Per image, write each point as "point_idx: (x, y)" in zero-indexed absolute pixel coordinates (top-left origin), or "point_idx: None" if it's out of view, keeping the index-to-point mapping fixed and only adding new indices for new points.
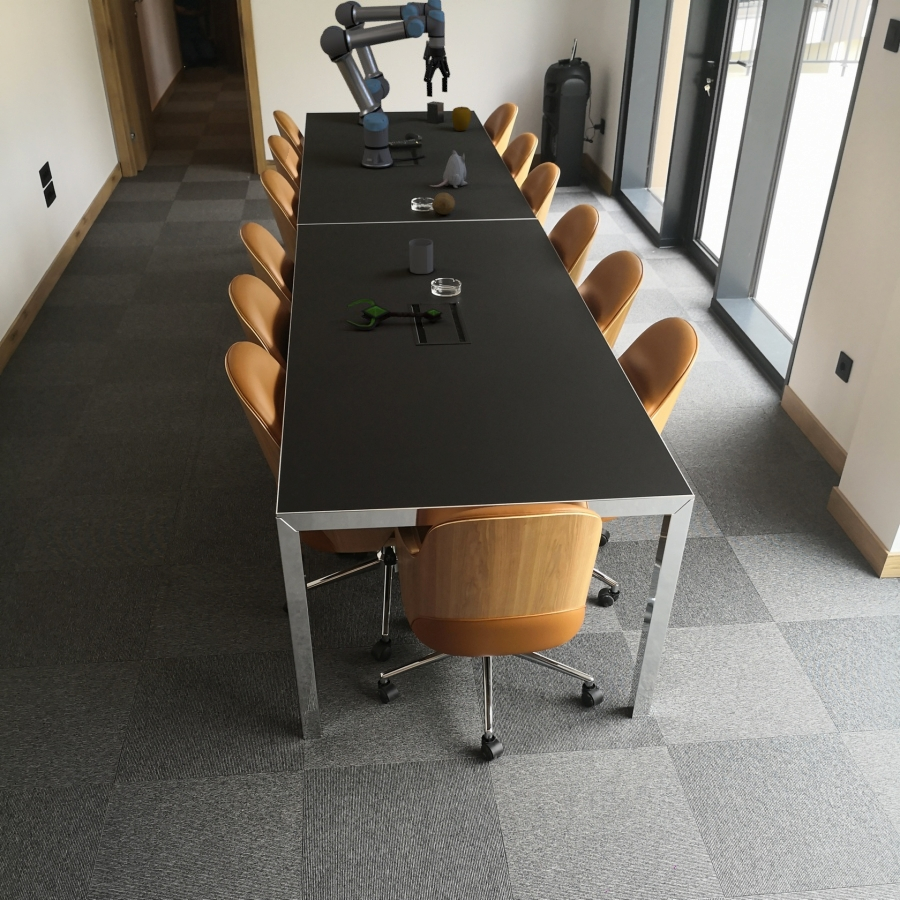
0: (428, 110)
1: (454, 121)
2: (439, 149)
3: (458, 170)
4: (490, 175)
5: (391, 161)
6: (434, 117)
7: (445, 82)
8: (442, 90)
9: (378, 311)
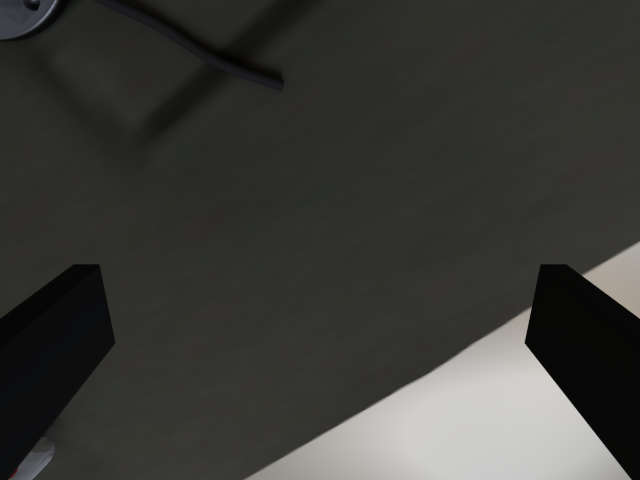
0: None
1: None
2: (483, 57)
3: None
4: (211, 451)
5: (10, 34)
6: None
7: (629, 443)
8: (551, 283)
9: None
